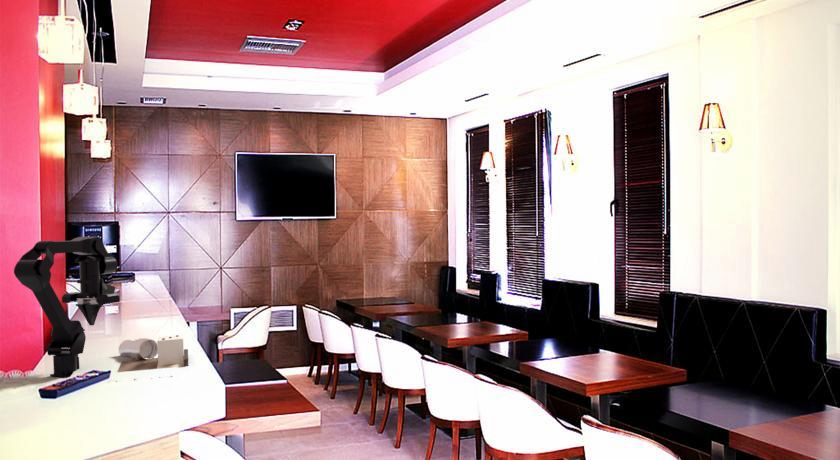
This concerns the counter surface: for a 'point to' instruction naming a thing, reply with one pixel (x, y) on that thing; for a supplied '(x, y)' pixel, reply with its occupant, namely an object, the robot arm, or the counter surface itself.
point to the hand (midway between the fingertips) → (91, 325)
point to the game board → (149, 364)
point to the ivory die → (170, 350)
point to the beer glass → (139, 348)
